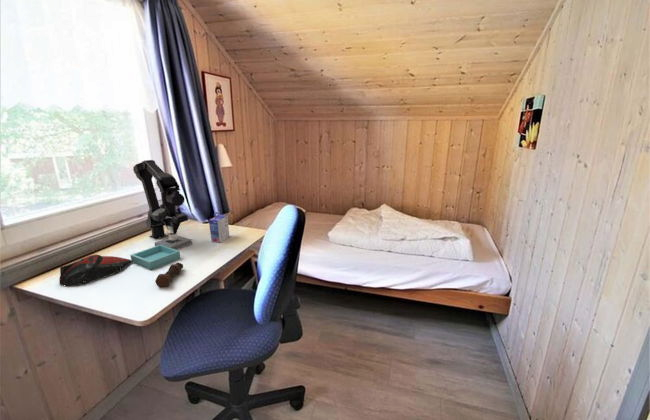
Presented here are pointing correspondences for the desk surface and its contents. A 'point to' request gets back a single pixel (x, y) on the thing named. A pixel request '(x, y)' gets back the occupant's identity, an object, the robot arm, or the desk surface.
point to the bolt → (168, 275)
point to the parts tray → (155, 257)
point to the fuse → (171, 233)
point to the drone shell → (91, 269)
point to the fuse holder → (179, 242)
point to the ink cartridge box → (219, 228)
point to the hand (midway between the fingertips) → (172, 232)
